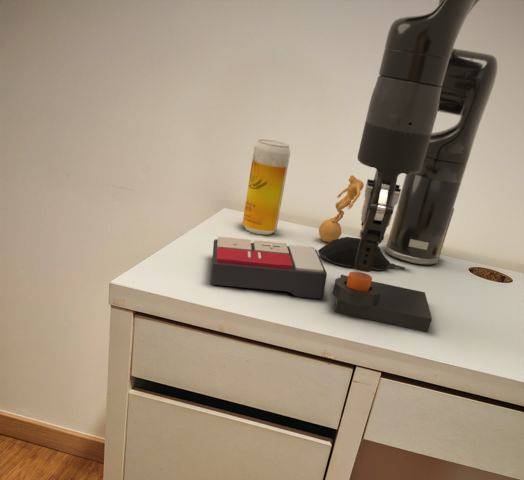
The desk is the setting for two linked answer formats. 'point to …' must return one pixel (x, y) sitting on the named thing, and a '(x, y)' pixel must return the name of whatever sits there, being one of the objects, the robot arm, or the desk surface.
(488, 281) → the desk surface
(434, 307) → the desk surface
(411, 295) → the black orange button box
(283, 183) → the beer can
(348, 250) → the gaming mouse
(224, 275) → the red grey electronic device
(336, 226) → the figurine
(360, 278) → the button
